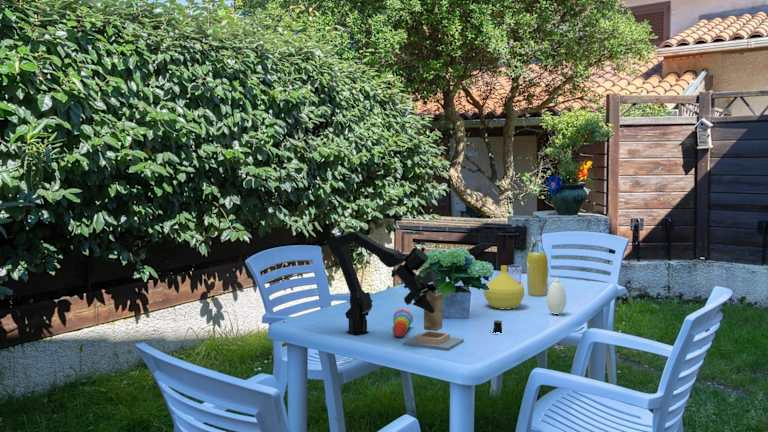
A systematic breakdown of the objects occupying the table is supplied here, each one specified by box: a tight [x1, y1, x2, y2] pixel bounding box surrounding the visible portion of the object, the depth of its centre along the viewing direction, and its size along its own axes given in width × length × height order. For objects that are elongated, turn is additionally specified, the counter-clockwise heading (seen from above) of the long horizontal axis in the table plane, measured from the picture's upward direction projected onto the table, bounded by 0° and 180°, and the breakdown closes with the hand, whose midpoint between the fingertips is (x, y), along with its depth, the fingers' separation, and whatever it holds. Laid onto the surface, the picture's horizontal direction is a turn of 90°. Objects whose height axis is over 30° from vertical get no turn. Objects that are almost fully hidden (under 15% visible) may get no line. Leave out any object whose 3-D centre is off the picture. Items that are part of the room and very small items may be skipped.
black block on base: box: [492, 319, 503, 333], centre depth 264 cm, size 12×7×5 cm, turn 167°
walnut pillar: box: [423, 292, 443, 332], centre depth 246 cm, size 5×5×13 cm
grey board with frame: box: [402, 330, 465, 351], centre depth 247 cm, size 18×14×3 cm
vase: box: [483, 264, 525, 309], centre depth 309 cm, size 18×18×19 cm
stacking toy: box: [392, 307, 414, 338], centre depth 263 cm, size 8×8×19 cm
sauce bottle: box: [546, 273, 567, 313], centre depth 292 cm, size 8×8×18 cm
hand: (436, 311), depth 245 cm, fingers closed on walnut pillar, 5 cm apart
